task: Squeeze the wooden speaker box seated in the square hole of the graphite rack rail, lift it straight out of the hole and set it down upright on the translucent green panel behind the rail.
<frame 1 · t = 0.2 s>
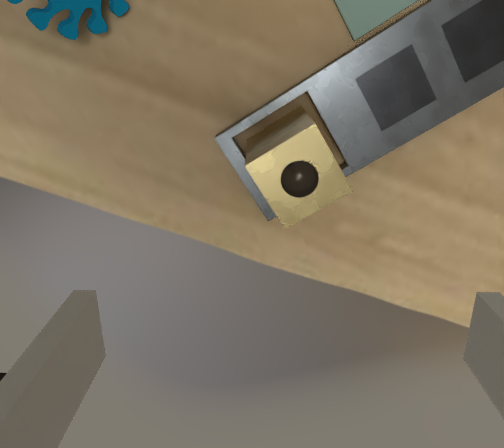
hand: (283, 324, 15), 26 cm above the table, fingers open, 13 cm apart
rail: (369, 100, 38), on the table
wooden speaker box: (289, 148, 39), resting in rail
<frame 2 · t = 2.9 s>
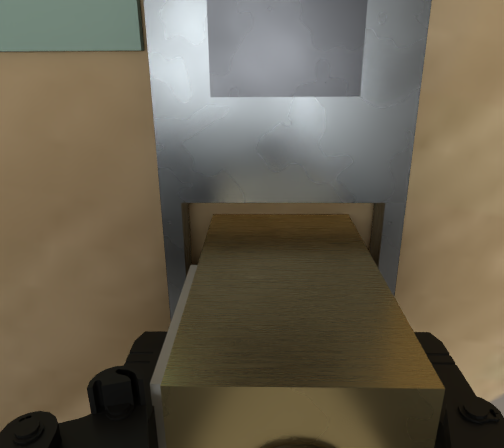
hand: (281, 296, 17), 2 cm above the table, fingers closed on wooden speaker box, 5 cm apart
rail: (283, 79, 16), on the table
wooden speaker box: (279, 274, 19), resting in rail, touching gripper
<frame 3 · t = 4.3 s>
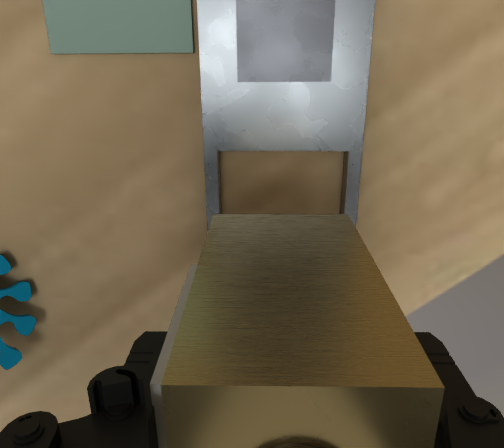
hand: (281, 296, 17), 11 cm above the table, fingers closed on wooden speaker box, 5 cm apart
rail: (283, 71, 25), on the table
wooden speaker box: (279, 274, 19), point 9 cm above the table, touching gripper
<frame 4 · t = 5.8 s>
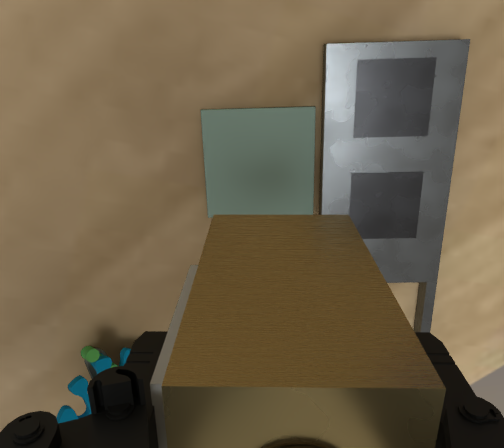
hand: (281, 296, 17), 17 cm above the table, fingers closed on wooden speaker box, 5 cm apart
rail: (377, 224, 34), on the table
blue spiky knobbed toy: (131, 372, 40), on the table
wooden speaker box: (279, 274, 19), point 15 cm above the table, touching gripper
translucent green panel: (259, 163, 32), on the table
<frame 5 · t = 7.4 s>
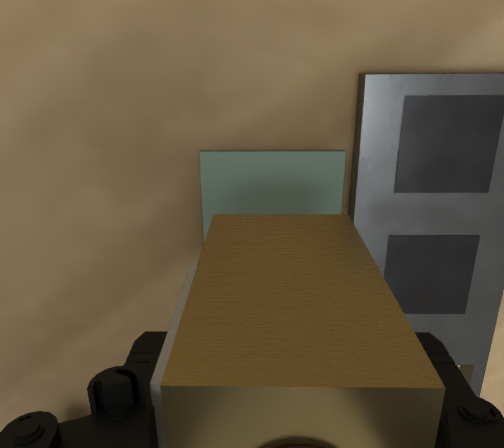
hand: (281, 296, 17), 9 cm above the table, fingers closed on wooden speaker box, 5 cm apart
rail: (414, 293, 27), on the table
wooden speaker box: (279, 274, 19), point 7 cm above the table, touching gripper
translucent green panel: (271, 218, 26), on the table
when the fingers open (4 cm above the table, at t = 8.7 s): wooden speaker box drops 2 cm, resting on translucent green panel.
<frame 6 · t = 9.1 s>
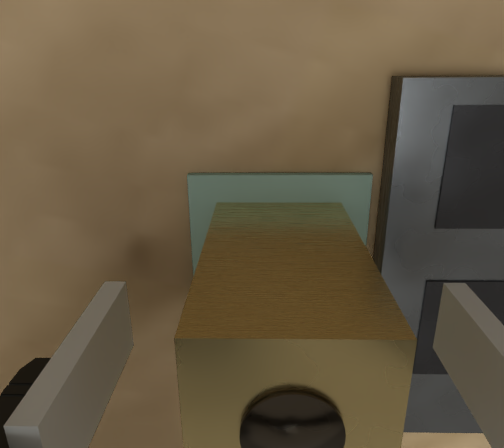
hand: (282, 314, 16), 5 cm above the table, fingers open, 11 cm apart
rail: (453, 345, 22), on the table
wooden speaker box: (277, 258, 20), resting on translucent green panel
translucent green panel: (277, 255, 21), on the table
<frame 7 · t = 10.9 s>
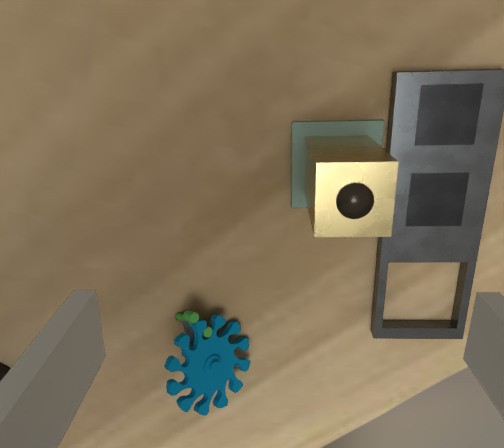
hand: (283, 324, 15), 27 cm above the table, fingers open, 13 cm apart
rail: (428, 215, 41), on the table
blue spiky knobbed toy: (213, 336, 48), on the table
wooden speaker box: (335, 166, 40), resting on translucent green panel
translucent green panel: (335, 165, 40), on the table
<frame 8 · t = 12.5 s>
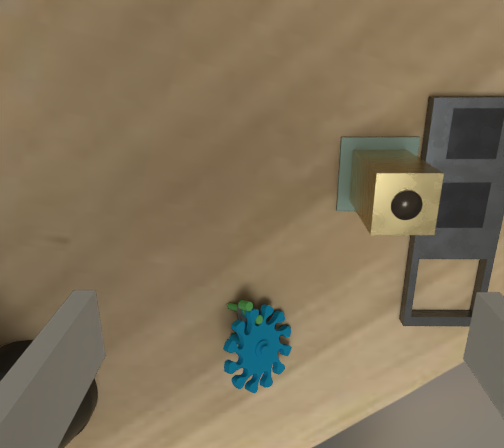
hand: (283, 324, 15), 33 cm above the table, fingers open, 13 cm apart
rail: (453, 218, 48), on the table
blue spiky knobbed toy: (258, 324, 54), on the table
wooden speaker box: (377, 175, 46), resting on translucent green panel
translucent green panel: (376, 174, 47), on the table
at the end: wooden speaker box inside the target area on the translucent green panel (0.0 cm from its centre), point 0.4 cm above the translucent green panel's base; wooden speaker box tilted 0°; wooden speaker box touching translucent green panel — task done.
